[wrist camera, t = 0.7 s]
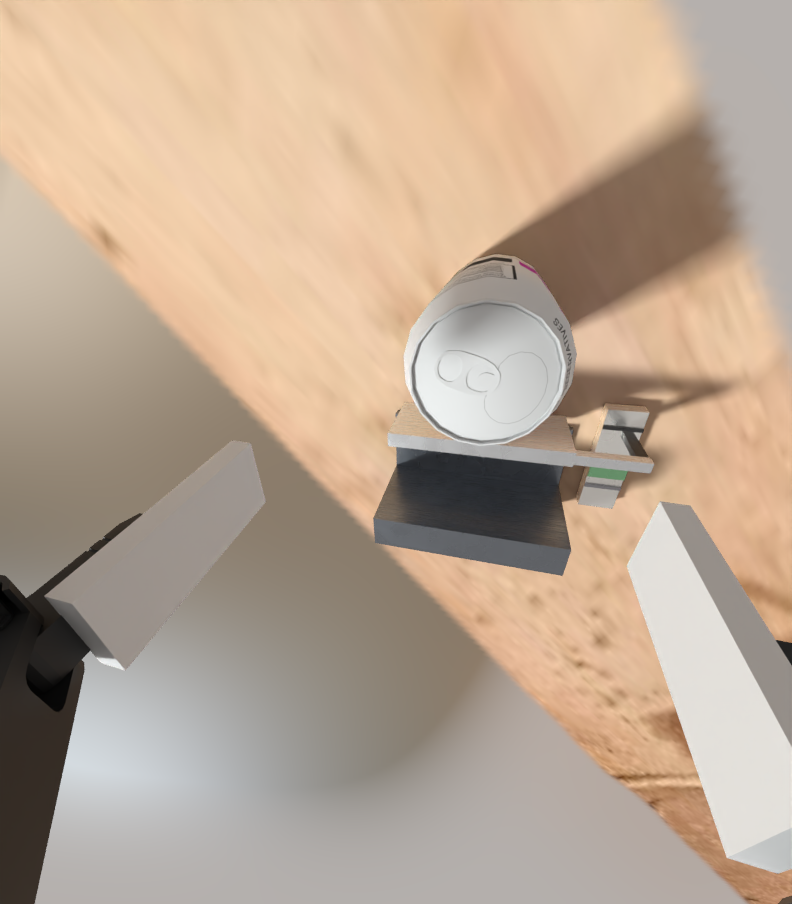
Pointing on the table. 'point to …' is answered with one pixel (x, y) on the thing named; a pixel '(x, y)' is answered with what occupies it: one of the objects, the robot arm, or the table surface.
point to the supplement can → (490, 353)
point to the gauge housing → (497, 501)
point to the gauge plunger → (518, 444)
